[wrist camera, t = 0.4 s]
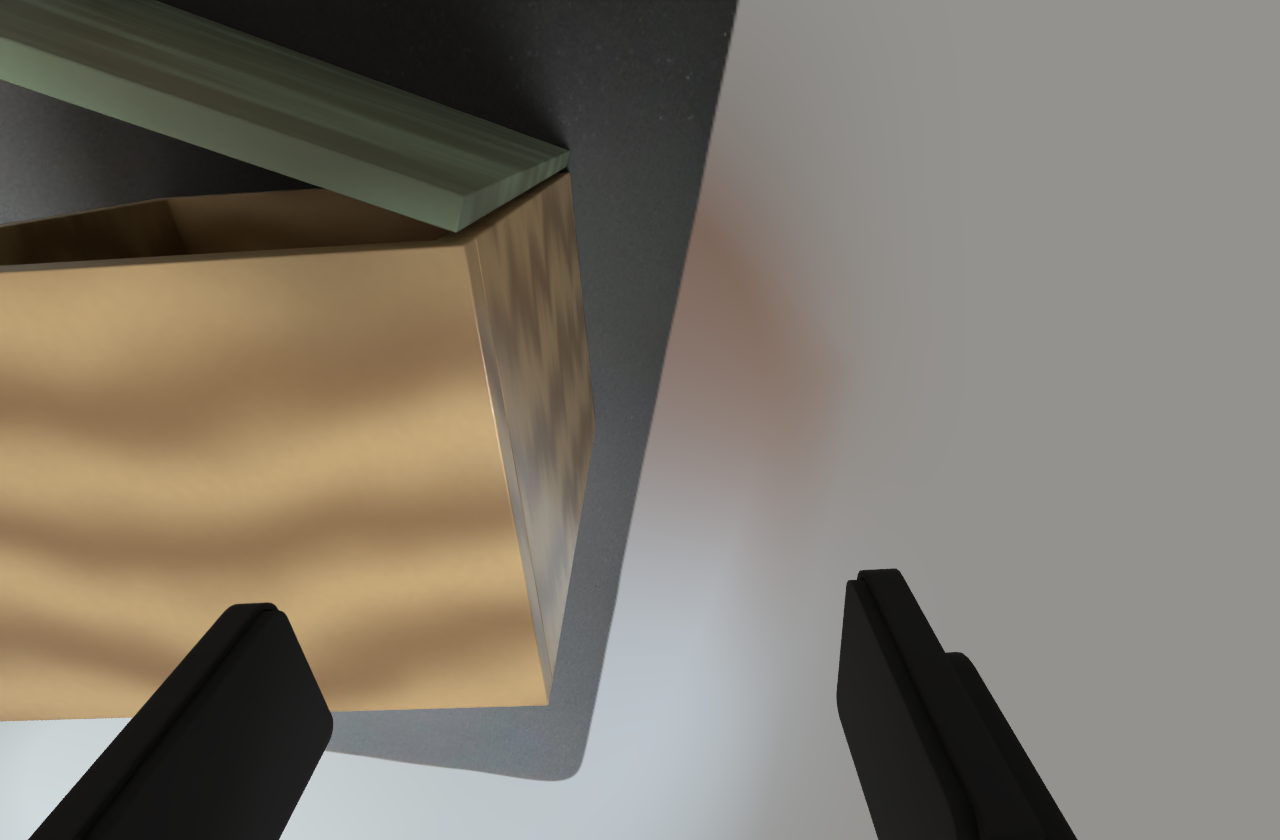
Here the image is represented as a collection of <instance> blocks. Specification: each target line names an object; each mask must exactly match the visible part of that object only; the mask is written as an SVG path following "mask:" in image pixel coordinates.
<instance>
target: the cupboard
mask: <svg viewBox="0 0 1280 840" xmlns="http://www.w3.org/2000/svg"><path fill="white" fill-rule="evenodd" d="M595 429H596V424H595V414H594V404H593V394H592V384H591V375H590V365H589V355H588V345H587V336H586V326H585V316H584V306H583V296H582V287H581V277H580V267H579V257H578V248H577V238H576V228H575V218H574V208H573V199H572V189H571V179H570V173H569V172H566V173H555V174H554V175H552V176H550V177H549V178H547V179H545V180H544V181H542V182H540V183H539V184H537V185H535V186H534V187H532V188H530V189H529V190H527V191H525V192H524V193H522V194H520V195H519V196H517V197H515V198H514V199H512V200H510V201H508V202H507V203H505V204H503V205H502V206H500V207H498V208H497V209H495V210H493V211H492V212H490V213H488V214H487V215H485V216H483V217H482V218H480V219H478V220H477V221H475V222H473V223H472V224H470V225H468V226H467V227H465V228H463V229H462V230H460V231H458V232H452V231H449V230H446V229H443V228H440V227H437V226H434V225H431V224H428V223H425V222H422V221H419V220H416V219H413V218H410V217H407V216H404V215H401V214H398V213H395V212H392V211H390V210H387V209H384V208H381V207H378V206H375V205H372V204H369V203H366V202H363V201H360V200H357V199H354V198H351V197H348V196H345V195H342V194H339V193H336V192H333V191H330V190H327V189H324V188H310V189H294V190H278V191H262V192H246V193H230V194H214V195H198V196H182V197H166V198H158V199H152V200H146V201H140V202H134V203H128V204H122V205H116V206H110V207H103V208H97V209H91V210H85V211H79V212H73V213H67V214H61V215H55V216H49V217H43V218H37V219H31V220H24V221H18V222H12V223H6V224H0V721H24V720H25V721H27V720H59V719H95V718H127V717H128V718H129V717H134V716H135V715H136V714H137V712H138V711H139V710H140V709H141V708H142V707H143V705H144V704H145V703H146V702H147V701H148V700H149V698H150V697H151V696H152V695H153V694H154V693H155V691H156V690H157V689H158V688H159V687H160V686H161V684H162V683H163V682H164V681H165V680H166V679H167V677H168V676H169V675H170V674H171V673H172V672H173V670H174V669H175V668H176V667H177V666H178V665H179V664H180V662H181V661H182V660H183V659H184V658H185V657H186V655H187V654H188V653H189V652H190V651H191V650H192V648H193V647H194V646H195V645H196V644H197V643H198V641H199V640H200V639H201V638H202V637H203V636H204V634H205V633H206V632H207V631H208V630H209V629H210V627H211V626H212V625H213V624H214V623H215V622H216V620H217V619H218V618H219V617H220V616H221V615H222V613H223V612H224V611H225V610H226V609H228V608H229V607H230V606H232V605H234V604H245V603H264V602H269V603H273V604H274V605H276V607H277V608H278V610H279V611H283V612H284V613H285V614H286V615H287V617H288V619H289V622H290V624H291V626H292V628H293V630H294V633H295V635H296V637H297V639H298V642H299V644H300V646H301V648H302V650H303V653H304V655H305V657H306V659H307V662H308V664H309V666H310V668H311V670H312V673H313V675H314V677H315V679H316V681H317V684H318V686H319V688H320V690H321V693H322V695H323V697H324V699H325V701H326V704H327V706H328V708H329V710H330V712H334V711H368V710H402V709H436V708H470V707H504V706H538V705H548V703H549V698H550V692H551V686H552V679H553V674H554V668H555V662H556V656H557V651H558V645H559V639H560V633H561V627H562V621H563V616H564V610H565V604H566V598H567V592H568V586H569V580H570V575H571V569H572V563H573V557H574V551H575V545H576V540H577V534H578V528H579V522H580V516H581V510H582V505H583V499H584V493H585V487H586V481H587V475H588V469H589V464H590V458H591V452H592V446H593V440H594V434H595Z"/></svg>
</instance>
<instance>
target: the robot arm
mask: <svg viewBox="0 0 1280 840" xmlns="http://www.w3.org/2000/svg"><path fill="white" fill-rule="evenodd" d="M844 607H845V608H844V617H843V628H842V639H841V650H840V662H839V672H838V683H837V707H838V713H839V717H840V720H841V723H842V726H843V730H844V733H845V736H846V739H847V742H848V745H849V749H850V752H851V755H852V758H853V761H854V764H855V767H856V771H857V774H858V777H859V780H860V783H861V786H862V790H863V793H864V796H865V799H866V802H867V805H868V808H869V811H870V814H871V818H872V821H873V824H874V827H875V830H876V834H877V837H878V840H1077V839H1076V837H1075V835H1074V833H1073V832H1072V830H1071V828H1070V826H1069V825H1068V823H1067V821H1066V820H1065V818H1064V816H1063V815H1062V813H1061V811H1060V810H1059V808H1058V806H1057V805H1056V803H1055V801H1054V799H1053V798H1052V796H1051V794H1050V793H1049V791H1048V789H1047V788H1046V786H1045V784H1044V783H1043V781H1042V779H1041V778H1040V776H1039V774H1038V773H1037V771H1036V769H1035V767H1034V766H1033V764H1032V763H1031V761H1030V759H1029V757H1028V756H1027V754H1026V752H1025V751H1024V749H1023V747H1022V746H1021V744H1020V742H1019V741H1018V739H1017V737H1016V735H1015V734H1014V732H1013V730H1012V729H1011V727H1010V725H1009V724H1008V722H1007V720H1006V719H1005V717H1004V715H1003V714H1002V712H1001V711H1000V709H999V707H998V705H997V703H996V702H995V700H994V699H993V697H992V695H991V694H990V692H989V690H988V689H987V687H986V685H985V683H984V682H983V680H982V678H981V677H980V675H979V673H978V671H977V670H976V668H975V667H974V665H973V664H972V662H971V661H970V660H969V658H968V657H966V656H965V655H964V654H963V653H959V652H951V653H945V652H944V650H943V648H942V646H941V644H940V643H939V641H938V639H937V637H936V635H935V634H934V632H933V630H932V628H931V626H930V625H929V623H928V621H927V619H926V617H925V616H924V614H923V612H922V610H921V609H920V607H919V605H918V603H917V601H916V599H915V597H914V596H913V594H912V592H911V590H910V588H909V587H908V585H907V583H906V581H905V579H904V578H903V576H902V575H901V573H900V571H899V570H897V569H878V570H862V571H859V573H858V577H857V580H849V581H848V582H847V586H846V596H845V606H844ZM332 731H333V718H332V715H331V713H330V710H329V708H328V706H327V704H326V701H325V699H324V697H323V695H322V693H321V690H320V688H319V686H318V684H317V681H316V679H315V677H314V675H313V673H312V670H311V668H310V666H309V664H308V662H307V659H306V657H305V655H304V653H303V650H302V648H301V646H300V644H299V642H298V639H297V637H296V635H295V633H294V630H293V628H292V626H291V624H290V622H289V619H288V617H287V615H286V614H285V613H284V612H283V611H279V610H278V608H277V607H276V605H274V604H273V603H269V602H264V603H245V604H234V605H232V606H230V607H229V608H228V609H226V610H225V611H224V612H223V613H222V615H221V616H220V617H219V618H218V619H217V620H216V622H215V623H214V624H213V625H212V626H211V627H210V629H209V630H208V631H207V632H206V633H205V634H204V636H203V637H202V638H201V639H200V640H199V641H198V643H197V644H196V645H195V646H194V647H193V648H192V650H191V651H190V652H189V653H188V654H187V655H186V657H185V658H184V659H183V660H182V661H181V662H180V664H179V665H178V666H177V667H176V668H175V669H174V670H173V672H172V673H171V674H170V675H169V676H168V677H167V679H166V680H165V681H164V682H163V683H162V684H161V686H160V687H159V688H158V689H157V690H156V691H155V693H154V694H153V695H152V696H151V697H150V698H149V700H148V701H147V702H146V703H145V704H144V705H143V707H142V708H141V709H140V710H139V711H138V712H137V714H136V715H135V716H134V717H133V718H132V719H131V721H130V722H129V723H128V724H127V725H126V726H125V728H124V729H123V730H122V731H121V732H120V733H119V734H118V736H117V737H116V738H115V739H114V740H113V741H112V743H111V744H110V745H109V746H108V747H107V749H106V750H105V751H104V752H103V753H102V754H101V755H100V757H99V758H98V759H97V760H96V761H95V762H94V764H93V765H92V766H91V767H90V769H88V771H87V772H86V773H85V774H84V775H83V776H82V778H81V779H80V780H79V781H78V782H77V783H76V785H75V786H74V787H73V788H72V789H71V790H70V792H69V793H68V794H67V795H66V796H65V798H63V800H62V801H61V802H60V803H59V804H58V806H57V807H56V808H55V809H54V810H53V811H52V812H51V814H50V815H49V816H48V817H47V818H46V819H45V821H44V822H43V823H42V824H41V825H40V827H39V828H38V829H37V830H36V831H35V832H34V833H33V835H32V836H31V837H30V838H29V839H28V840H279V838H280V836H281V834H282V832H283V831H284V829H285V827H286V825H287V823H288V821H289V819H290V817H291V815H292V813H293V811H294V809H295V807H296V805H297V803H298V801H299V799H300V797H301V795H302V793H303V791H304V790H305V787H306V786H307V784H308V782H309V780H310V778H311V776H312V774H313V772H314V770H315V768H316V766H317V764H318V762H319V760H320V758H321V756H322V754H323V752H324V750H325V749H326V747H327V745H328V743H329V740H330V738H331V735H332Z"/></svg>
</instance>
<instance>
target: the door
mask: <svg viewBox="0 0 1280 840" xmlns="http://www.w3.org/2000/svg"><path fill="white" fill-rule="evenodd" d="M0 80H3V81H6V82H9V83H12V84H15V85H18V86H21V87H24V88H27V89H30V90H33V91H36V92H39V93H42V94H45V95H48V96H51V97H53V98H56V99H59V100H62V101H65V102H68V103H71V104H74V105H77V106H80V107H83V108H86V109H89V110H92V111H95V112H98V113H101V114H104V115H107V116H110V117H113V118H116V119H119V120H122V121H125V122H128V123H131V124H134V125H137V126H140V127H143V128H146V129H149V130H152V131H155V132H158V133H161V134H164V135H166V136H169V137H172V138H175V139H178V140H181V141H184V142H187V143H190V144H193V145H196V146H199V147H202V148H205V149H208V150H211V151H214V152H217V153H220V154H223V155H226V156H229V157H232V158H235V159H238V160H241V161H244V162H247V163H250V164H253V165H256V166H259V167H262V168H265V169H268V170H271V171H274V172H277V173H279V174H282V175H285V176H288V177H291V178H294V179H297V180H300V181H303V182H306V183H309V184H312V185H315V186H318V187H321V188H324V189H327V190H330V191H333V192H336V193H339V194H342V195H345V196H348V197H351V198H354V199H357V200H360V201H363V202H366V203H369V204H372V205H375V206H378V207H381V208H384V209H387V210H390V211H392V212H395V213H398V214H401V215H404V216H407V217H410V218H413V219H416V220H419V221H422V222H425V223H428V224H431V225H434V226H437V227H440V228H443V229H446V230H449V231H452V232H458V231H460V230H462V229H463V228H465V227H467V226H468V225H470V224H472V223H473V222H475V221H477V220H478V219H480V218H482V217H483V216H485V215H487V214H488V213H490V212H492V211H493V210H495V209H497V208H498V207H500V206H502V205H503V204H505V203H507V202H508V201H510V200H512V199H514V198H515V197H517V196H519V195H520V194H522V193H524V192H525V191H527V190H529V189H530V188H532V187H534V186H535V185H537V184H539V183H540V182H542V181H544V180H545V179H547V178H549V177H550V176H552V175H554V174H555V173H557V172H559V171H560V170H562V169H564V168H565V167H566V166H567V162H568V158H569V154H570V151H569V150H566V149H563V148H561V147H558V146H555V145H552V144H550V143H547V142H544V141H541V140H539V139H536V138H533V137H530V136H528V135H525V134H522V133H519V132H517V131H514V130H511V129H508V128H506V127H503V126H500V125H497V124H495V123H492V122H489V121H486V120H484V119H481V118H478V117H475V116H473V115H470V114H467V113H464V112H461V111H459V110H456V109H453V108H450V107H448V106H445V105H442V104H439V103H437V102H434V101H431V100H428V99H426V98H423V97H420V96H417V95H415V94H412V93H409V92H406V91H404V90H401V89H398V88H395V87H393V86H390V85H387V84H384V83H382V82H379V81H376V80H373V79H371V78H368V77H365V76H362V75H360V74H357V73H354V72H351V71H349V70H346V69H343V68H340V67H338V66H335V65H332V64H329V63H327V62H324V61H321V60H318V59H316V58H313V57H310V56H307V55H305V54H302V53H299V52H296V51H294V50H291V49H288V48H285V47H283V46H280V45H277V44H274V43H272V42H269V41H266V40H263V39H261V38H258V37H255V36H252V35H250V34H247V33H244V32H241V31H239V30H236V29H233V28H230V27H228V26H225V25H222V24H219V23H217V22H214V21H211V20H208V19H206V18H203V17H200V16H197V15H195V14H192V13H189V12H186V11H184V10H181V9H178V8H175V7H172V6H170V5H167V4H164V3H161V2H159V1H156V0H0Z"/></svg>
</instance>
